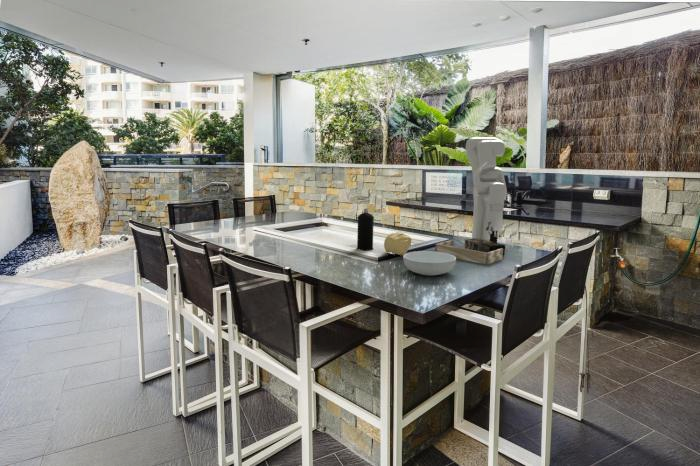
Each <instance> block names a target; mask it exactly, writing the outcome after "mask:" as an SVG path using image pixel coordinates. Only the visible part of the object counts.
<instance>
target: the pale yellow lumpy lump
mask: <svg viewBox="0 0 700 466" xmlns="http://www.w3.org/2000/svg"><path fill="white" fill-rule="evenodd" d="M383 245H384V250H385V252H386V253H387V252H392V253H396V254H398V255H400V256H403V255H404V254H406V253H408V250H409V249H410V247H411V245H412V237H411V236H410V235H409V234H406V233H404V232H402V231H395V232H392V233H390V234H388V235H387V236H386V237H385V239H384V242H383Z"/></svg>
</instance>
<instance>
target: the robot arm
mask: <svg viewBox="0 0 700 466" xmlns="http://www.w3.org/2000/svg"><path fill="white" fill-rule="evenodd" d="M505 153H506V144H505V143H504V141H503V140H502V139H500V138H498V137H495V136H494V137H489V136H488V137H486V136H485V137H484V136H483V137H481V136H475V137H471V138H470V137H469V138H468V139H467V140H466V143H465V154H466V156H467V159H468V161H469V163H470V166H471V171H472V180H473V182H472V183H473V190H472V195H473V212H472V213H473V215H472V226H471V227H472V228H471V229H472V230H471V237H468V239H472V238H474V239H476V238H479V239H483V240H487V241H491V242H494V243H498V236H499V232H500V231H501V230H502V229H503V221H504V220H503V218H504V217H503V216H504V214H503V212H504V206H505V200H506V199H507V197H508V196H507V195H508V189H507V185H506V184H507V183H506V180H505V174H504V171H503V170H502V169H501V168H500V167H497V159H496V157H504V155H505Z"/></svg>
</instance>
